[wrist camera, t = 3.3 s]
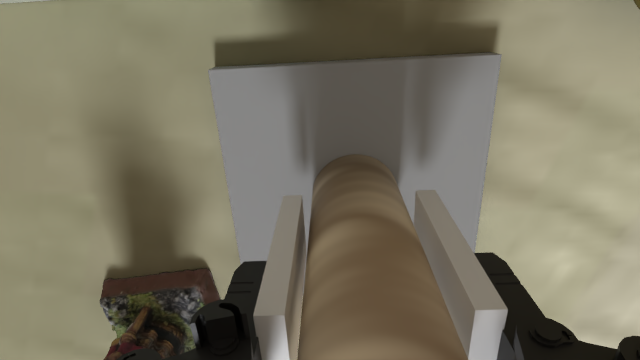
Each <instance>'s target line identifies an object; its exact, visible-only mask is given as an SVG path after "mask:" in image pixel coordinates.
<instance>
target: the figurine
mask: <svg viewBox="0 0 640 360" xmlns="http://www.w3.org/2000/svg"><path fill="white" fill-rule="evenodd" d="M217 300H220V298H219V294H218V291H217V288H216V286H215V285H214V280H213V278H212V274H211V272H210V270H209V269H207V268H206V269H198V270H193V271H191V270H186V271H185V270H184V271H179V272H177V271H176V272H174V273H168V272H163V273H162V274H161V273H160V274H158V275H148V276H140V277H133V278H126V279H125V278H123V279H118V280H117V279H111V278H110V279H107V280H106V281H104V283H103V290H102V295H101V299H100V305H101V307H103V311H104V313H105V315H106V317H107V318H108V320H109V322H110V324H112V330H113V331H114V330H115V331H116V333H117V339H115V340H114V341H113V342H112V344H111V347H110V350H109V352H108V354H107V356H106V357H105V359H104V360H116V359H118V358H119V357H120V356H122V355H124V354H126V353H128V352H130V351H133V350H137V349H143V348H148V349H154V350H155V351H157V352H158V353H159V354H160V355H161V358H162V359H165V358H168V357H172V356H175V355H179V354H182V353H185V352H187V351H190V350H192V349H194V348H196V347H195V343H194V339H193V335H192V331H191V327H190V322H191V319H192V317H193V315H194V314H195V313H196V312H197V311H198V310H199V309H200V308H202V307H203V306H205V305H207V304H208V303H211V302H214V301H217Z"/></svg>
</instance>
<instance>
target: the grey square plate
mask: <svg viewBox="0 0 640 360" xmlns="http://www.w3.org/2000/svg"><path fill="white" fill-rule="evenodd" d="M500 62H501V54H497V53H492V52H488V53H469V54H451V55H432V56H413V57H394V58H375V59H357V60H338V61H319V62H300V63H282V64H263V65H244V66H225V67H214V68H212V69H209V70H208V73H209V78H210V84H211V90H212V96H213V102H214V108H215V114H216V120H217V126H218V132H219V138H220V144H221V150H222V156H223V162H224V168H225V174H226V179H227V185H228V191H229V197H230V203H231V209H232V215H233V221H234V227H235V233H236V239H237V245H238V251H239V257H240V263H241V264H242V263H243V262H244V261H267V259H268V255H269V251H270V247H271V243H272V239H273V235H274V231H275V227H276V223H277V219H278V215H279V211H280V207H281V203H282V199H283V196H287V195H302V200H303V212H304V225H305V237H306V250H307V249H308V237H309V226H310V215H311V204H312V193H313V186H314V182H315V180H316V178H317V176H318V174H319V173H320V171H321V170H322V169H323V168H324V167H325V166H326V165H327V164H328V163H330V162H331V161H333V160H335V159H337V158H339V157H342V156H346V155H353V154H360V155H366V156H370V157H373V158H375V159H377V160H379V161H381V162H382V163H383V164H384V165H386V166H387V167H388V168H389V170H390V171H391V172H392V174H393V176H394V178H395V180H396V183H397V185H398V188H399V190H400V193H401V195H402V198H403V200H404V203H405V205H406V208H407V210H408V213H409V215H410V217H411V220H412V222H413V225H414V212H415V194H416V190H435V191H436V192H437V194H438V196H439V197H440V199H441V200H442V202H443V204H444V205H445V207H446V209H447V210H448V212H449V214H450V215H451V217H452V218H453V220H454V222H455V223H456V225H457V227H458V228H459V230H460V232H461V233H462V235H463V236H464V238H465V240H466V241H467V243H468V245H469V246H470V248H471V250H472V251H473V253H475V246H476V239H477V231H478V224H479V217H480V209H481V202H482V194H483V187H484V180H485V172H486V165H487V158H488V150H489V143H490V135H491V128H492V121H493V113H494V106H495V99H496V91H497V84H498V76H499V69H500ZM306 260H307V254H306ZM305 271H306V265H305ZM304 282H305V275H304ZM303 293H304V286H303Z"/></svg>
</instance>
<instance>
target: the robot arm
mask: <svg viewBox="0 0 640 360" xmlns="http://www.w3.org/2000/svg"><path fill="white" fill-rule="evenodd" d="M414 227H415V230H416V232H417V235H418V237H419V240H420V242H421V245H422V247H423V249H424V252H425V254H426V257H427V259H428V262H429V264H430V267H431V269H432V272H433V274H434V277H435V279H436V282H437V284H438V286H439V289H440V291H441V294H442V296H443V299H444V301H445V304H446V306H447V309H448V311H449V314H450V316H451V318H452V321H453V323H454V326H455V328H456V331H457V333H458V336H459V338H460V341H461V343H462V346H463V348H464V351H465V353H466V355H467V358H468V360H640V336H631V337H626V338H624V339H623V340H622V341H621V342H620V343H619V346H618V349H613V348H608V347H604V346H599V345H594V344H590V343H586V342H582V341H579V340H578V339H577V338H576V337H575V335H574V334H573V332H571V331H570V330H569V329H568V328H566V327H565V326H564V325H562V324H560V323H558V322H556V321H554V320H552V319H548V318H546V317H545V316H544V314H543V313H542V312H541V310H540V309H539V308H538V306H537V305H536V303H535V302H534V301H533V299H532V298H531V296H530V295H529V294H528V292H527V291H526V289H525V288H524V287H523V285H521V284H520V281H519V280H518V278H517V277H516V276H515V275H514V273H513V271H512V270H511V269H510V267H509V266H508V264H507V263H506V262H505V261H504V260H502V259H501V258H499V257H498V256H497V255H495V254H494V253H473V251H472V250H471V248H470V246H469V245H468V243H467V241H466V240H465V238H464V236H463V235H462V233H461V232H460V230H459V228H458V227H457V225H456V223H455V222H454V220H453V218H452V217H451V215H450V214H449V212H448V210H447V209H446V207H445V205H444V204H443V202H442V200H441V199H440V197H439V196H438V194H437V192H436V191H435V190H416V194H415V212H414ZM306 254H307V250H306V237H305V225H304V212H303V200H302V195H287V196H283V199H282V203H281V207H280V211H279V215H278V219H277V223H276V227H275V231H274V235H273V239H272V243H271V247H270V251H269V255H268V259H267V261H244V262H243V263H242V264H241V265H240V266H239V267H238V268H237V269H236V270H235V272H234V274H233V277H232V280H231V282H230V283H231V284H230V285H229V288H228V291H227V294H226V296H225V299H224V300H217V301H214V302H211V303H208V304H207V305H205V306H203V307H202V308H200V309H199V310H198V311H197V312H196V313H195V314H194V315H193V317H192V319H191V322H190V327H191V331H192V335H193V339H194V343H195V347H196V348H194V349H192V350H190V351H187V352H185V353H182V354H179V355H175V356H172V357H168V358H165V359H162V358H161V355H160V354H159V353H158V352H157V351H155V350H154V349H148V348H143V349H137V350H133V351H130V352H128V353H126V354H124V355H122V356H120V357H119V358H118V359H116V360H297V351H298V340H299V329H300V318H301V308H302V297H303V286H304V275H305V265H306Z"/></svg>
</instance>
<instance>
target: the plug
mask: <svg viewBox="0 0 640 360" xmlns="http://www.w3.org/2000/svg"><path fill="white" fill-rule="evenodd" d="M297 360H468V358H467V355H466V353H465V351H464V348H463V346H462V343H461V341H460V338H459V336H458V333H457V331H456V328H455V326H454V323H453V321H452V318H451V316H450V314H449V311H448V309H447V306H446V304H445V301H444V299H443V296H442V294H441V291H440V289H439V286H438V284H437V282H436V279H435V277H434V274H433V272H432V269H431V267H430V264H429V262H428V259H427V257H426V254H425V252H424V249H423V247H422V245H421V242H420V240H419V237H418V235H417V232H416V230H415V227H414V225H413V222H412V220H411V217H410V215H409V213H408V210H407V208H406V205H405V203H404V200H403V198H402V195H401V193H400V190H399V188H398V185H397V183H396V180H395V178H394V176H393V174H392V172H391V171H390V170H389V168H388V167H387V166H386V165H384V164H383V163H382V162H381V161H379V160H377V159H375V158H373V157H370V156H366V155H360V154H353V155H346V156H342V157H339V158H337V159H335V160H333V161H331V162H330V163H328V164H327V165H326V166H325V167H324V168H323V169H322V170H321V171H320V173H319V174H318V176H317V178H316V180H315V182H314V186H313V193H312V204H311V215H310V226H309V237H308V249H307V260H306V271H305V282H304V293H303V304H302V315H301V326H300V337H299V348H298V359H297Z"/></svg>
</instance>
